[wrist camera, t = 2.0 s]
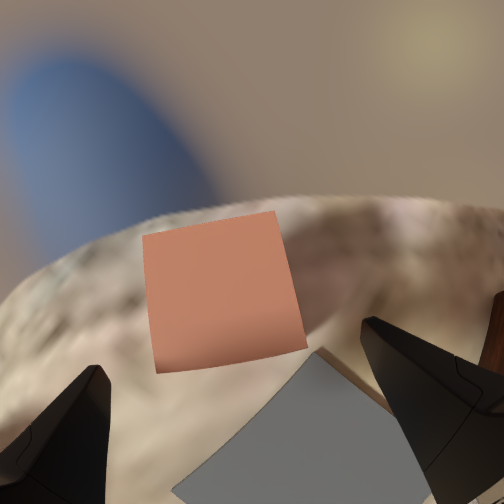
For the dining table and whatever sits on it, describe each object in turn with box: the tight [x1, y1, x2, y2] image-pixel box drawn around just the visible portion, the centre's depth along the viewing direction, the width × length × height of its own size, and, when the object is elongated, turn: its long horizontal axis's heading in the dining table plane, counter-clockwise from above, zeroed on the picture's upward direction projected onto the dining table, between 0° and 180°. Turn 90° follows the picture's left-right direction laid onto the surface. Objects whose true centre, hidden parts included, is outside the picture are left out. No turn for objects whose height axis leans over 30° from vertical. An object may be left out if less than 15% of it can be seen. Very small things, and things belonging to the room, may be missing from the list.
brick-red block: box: [142, 211, 308, 374], centre depth 14 cm, size 5×5×10 cm
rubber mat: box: [171, 352, 432, 504], centre depth 14 cm, size 16×14×1 cm
